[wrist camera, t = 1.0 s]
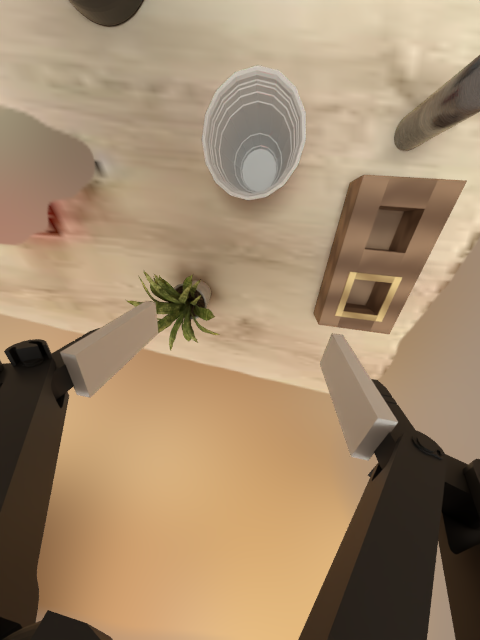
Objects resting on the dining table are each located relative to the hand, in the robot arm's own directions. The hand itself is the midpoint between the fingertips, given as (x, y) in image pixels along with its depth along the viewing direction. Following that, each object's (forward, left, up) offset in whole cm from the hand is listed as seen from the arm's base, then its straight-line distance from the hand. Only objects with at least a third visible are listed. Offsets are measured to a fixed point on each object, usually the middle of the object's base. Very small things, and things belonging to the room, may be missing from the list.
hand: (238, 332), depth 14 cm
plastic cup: (-15, -2, -25) cm, 30 cm away
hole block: (-3, +18, -25) cm, 31 cm away
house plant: (+6, -11, -25) cm, 28 cm away
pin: (-20, +18, -25) cm, 37 cm away
